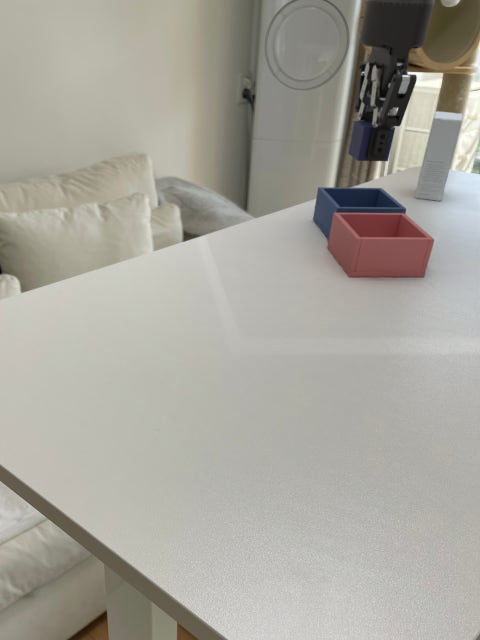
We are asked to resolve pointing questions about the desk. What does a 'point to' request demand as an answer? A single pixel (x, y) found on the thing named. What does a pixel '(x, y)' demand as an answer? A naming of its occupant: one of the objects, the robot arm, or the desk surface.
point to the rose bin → (379, 245)
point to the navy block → (365, 140)
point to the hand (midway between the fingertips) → (368, 155)
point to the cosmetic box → (438, 155)
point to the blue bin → (351, 204)
